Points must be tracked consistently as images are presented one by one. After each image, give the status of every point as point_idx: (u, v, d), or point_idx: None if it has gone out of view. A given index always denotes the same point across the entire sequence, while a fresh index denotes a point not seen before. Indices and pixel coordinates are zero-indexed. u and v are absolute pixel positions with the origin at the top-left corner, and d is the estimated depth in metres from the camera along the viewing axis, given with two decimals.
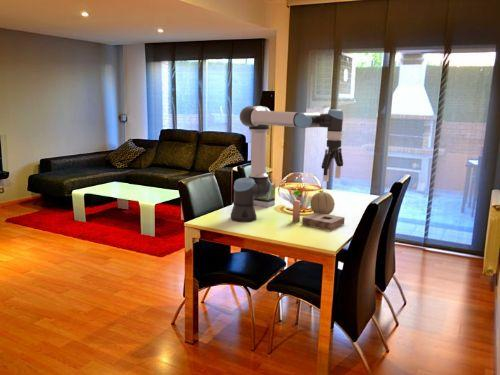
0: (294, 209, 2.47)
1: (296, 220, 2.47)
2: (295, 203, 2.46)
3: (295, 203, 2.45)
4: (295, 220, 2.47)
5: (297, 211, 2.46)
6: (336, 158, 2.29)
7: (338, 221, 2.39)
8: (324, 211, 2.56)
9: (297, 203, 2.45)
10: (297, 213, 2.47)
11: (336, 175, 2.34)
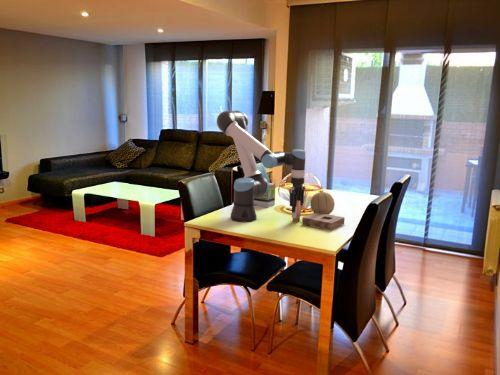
0: None
1: (296, 220, 2.47)
2: None
3: None
4: (295, 220, 2.47)
5: (297, 211, 2.46)
6: (298, 195, 2.48)
7: (338, 221, 2.39)
8: (324, 211, 2.56)
9: (297, 203, 2.45)
10: (297, 213, 2.47)
11: None
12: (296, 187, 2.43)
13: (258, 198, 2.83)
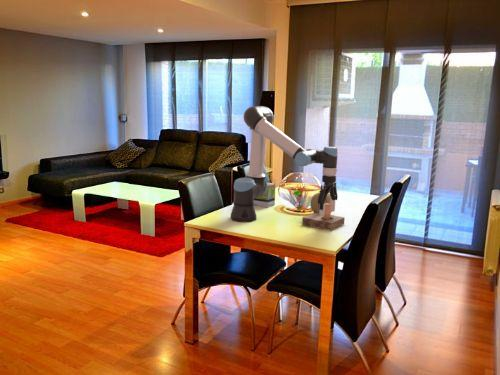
0: (325, 212, 2.40)
1: None
2: (326, 206, 2.39)
3: (326, 206, 2.39)
4: None
5: (328, 214, 2.40)
6: (331, 192, 2.42)
7: (338, 221, 2.39)
8: None
9: (328, 206, 2.39)
10: (328, 217, 2.40)
11: (331, 208, 2.47)
12: (328, 186, 2.36)
13: (258, 198, 2.83)
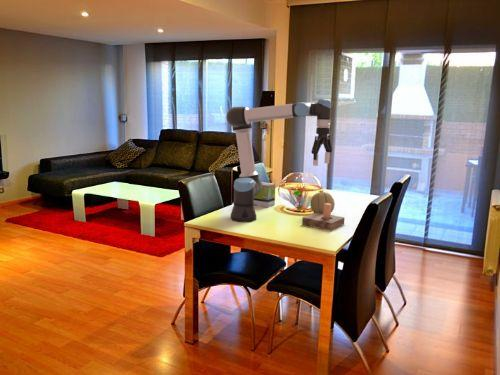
0: (325, 212, 2.40)
1: None
2: (326, 206, 2.39)
3: (326, 206, 2.39)
4: None
5: (328, 214, 2.40)
6: (325, 144, 2.48)
7: (338, 221, 2.39)
8: None
9: (328, 206, 2.39)
10: (328, 217, 2.40)
11: (325, 160, 2.53)
12: (322, 137, 2.42)
13: (258, 198, 2.83)
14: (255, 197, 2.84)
